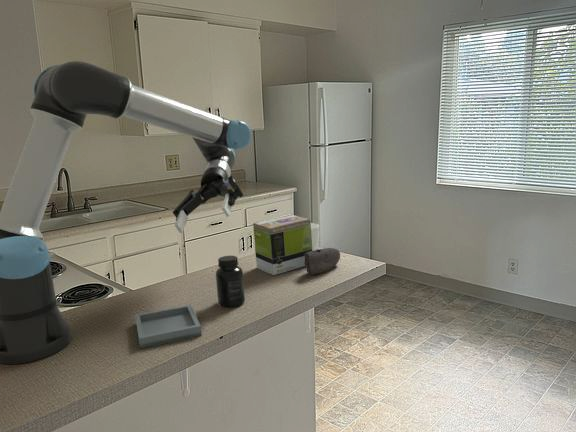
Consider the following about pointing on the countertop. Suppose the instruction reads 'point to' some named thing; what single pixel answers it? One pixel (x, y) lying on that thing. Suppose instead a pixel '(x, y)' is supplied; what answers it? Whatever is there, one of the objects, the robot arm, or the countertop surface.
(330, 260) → the perforated stone tool
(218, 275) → the supplement bottle
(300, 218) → the tea box
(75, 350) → the countertop surface
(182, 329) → the tray
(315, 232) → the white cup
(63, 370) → the countertop surface
